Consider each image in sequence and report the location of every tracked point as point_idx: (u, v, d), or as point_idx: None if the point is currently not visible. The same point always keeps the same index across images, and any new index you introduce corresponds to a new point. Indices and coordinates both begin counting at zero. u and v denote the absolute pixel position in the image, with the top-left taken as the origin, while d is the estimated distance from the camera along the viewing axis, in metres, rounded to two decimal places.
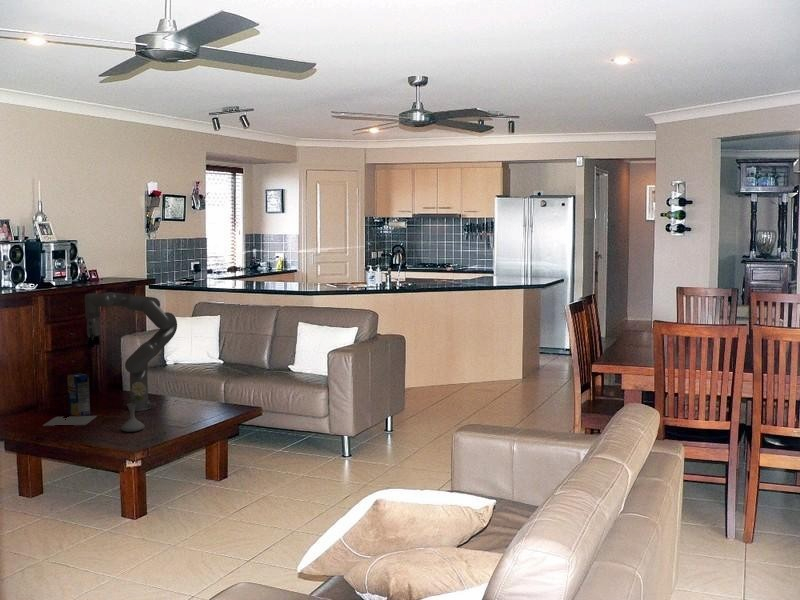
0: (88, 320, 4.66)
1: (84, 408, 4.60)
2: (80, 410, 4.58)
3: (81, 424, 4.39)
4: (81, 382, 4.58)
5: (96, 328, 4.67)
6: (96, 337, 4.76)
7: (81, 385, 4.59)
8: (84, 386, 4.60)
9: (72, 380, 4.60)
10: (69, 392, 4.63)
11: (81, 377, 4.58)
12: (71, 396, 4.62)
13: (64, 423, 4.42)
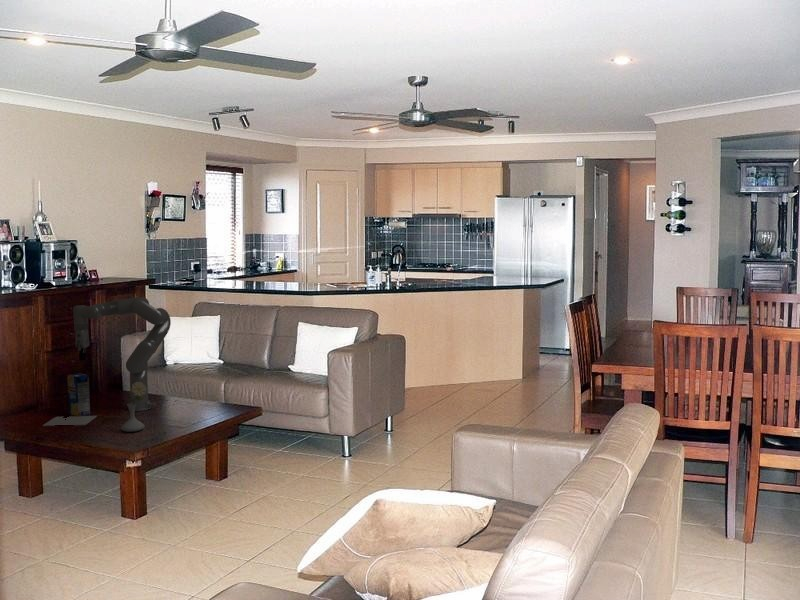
0: (76, 332, 4.65)
1: (84, 408, 4.60)
2: (80, 410, 4.58)
3: (81, 424, 4.39)
4: (81, 382, 4.58)
5: (84, 340, 4.66)
6: None
7: (81, 385, 4.59)
8: (84, 386, 4.60)
9: (72, 380, 4.60)
10: (69, 392, 4.63)
11: (81, 377, 4.58)
12: (71, 396, 4.62)
13: (64, 423, 4.42)
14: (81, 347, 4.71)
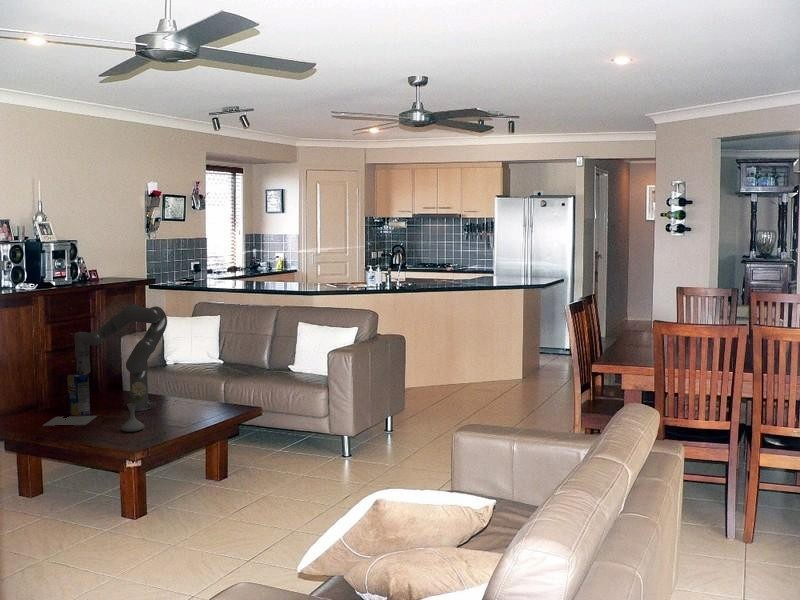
0: (78, 359, 4.66)
1: (84, 408, 4.60)
2: (80, 410, 4.58)
3: (81, 424, 4.39)
4: (81, 382, 4.58)
5: (85, 366, 4.68)
6: None
7: (81, 385, 4.59)
8: (84, 386, 4.60)
9: (72, 380, 4.60)
10: (69, 392, 4.63)
11: (81, 377, 4.58)
12: (71, 396, 4.62)
13: (64, 423, 4.42)
14: None
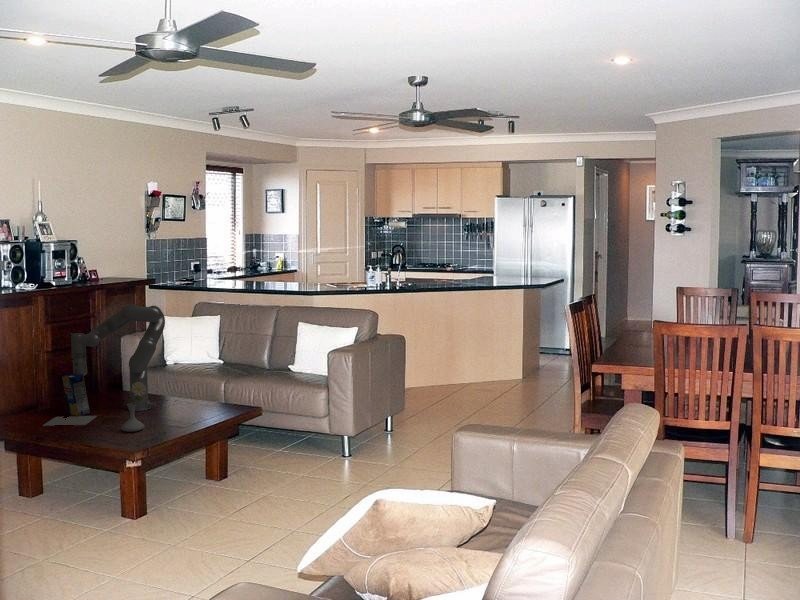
0: (74, 360, 4.60)
1: (83, 407, 4.60)
2: (79, 410, 4.58)
3: (81, 424, 4.39)
4: (76, 382, 4.57)
5: (82, 368, 4.62)
6: None
7: (77, 385, 4.57)
8: (80, 386, 4.58)
9: (67, 381, 4.58)
10: (66, 393, 4.62)
11: (76, 377, 4.56)
12: (69, 397, 4.61)
13: (64, 423, 4.42)
14: None
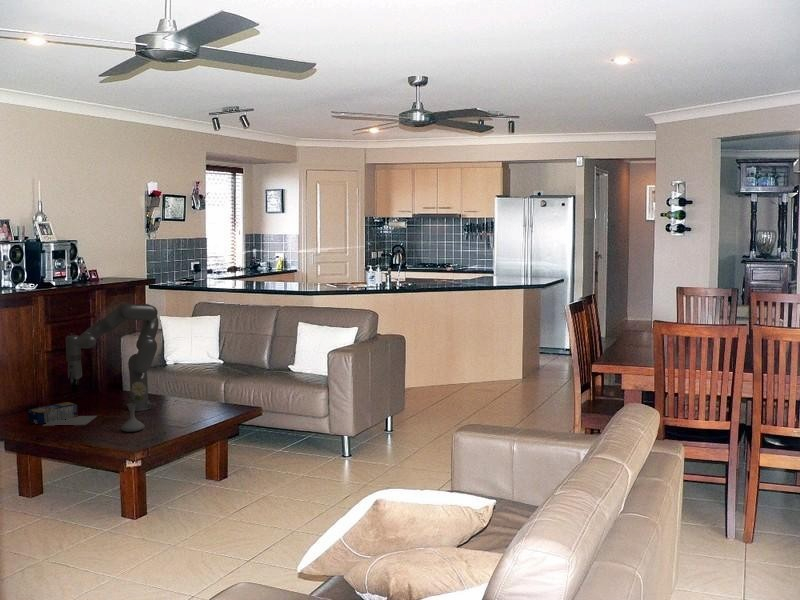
0: (69, 363, 4.52)
1: (70, 411, 4.54)
2: (72, 415, 4.55)
3: (81, 424, 4.39)
4: (43, 419, 4.43)
5: (77, 371, 4.53)
6: None
7: (47, 418, 4.45)
8: (48, 415, 4.45)
9: None
10: None
11: (39, 419, 4.41)
12: None
13: (64, 423, 4.42)
14: None
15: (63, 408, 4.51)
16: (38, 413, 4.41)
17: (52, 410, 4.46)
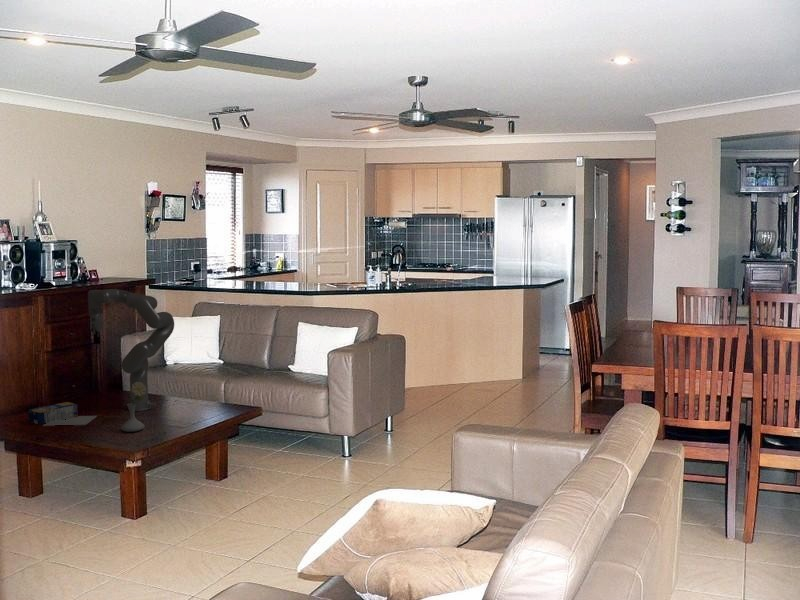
0: (91, 316, 4.72)
1: (70, 411, 4.54)
2: (72, 415, 4.55)
3: (81, 424, 4.39)
4: (44, 419, 4.43)
5: (99, 324, 4.73)
6: None
7: (47, 418, 4.45)
8: (48, 415, 4.45)
9: None
10: None
11: (39, 419, 4.41)
12: None
13: (64, 423, 4.42)
14: None
15: (63, 408, 4.51)
16: (38, 413, 4.41)
17: (52, 410, 4.46)
